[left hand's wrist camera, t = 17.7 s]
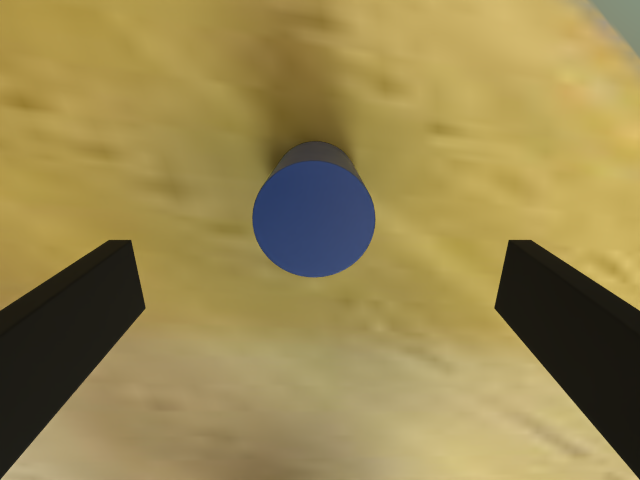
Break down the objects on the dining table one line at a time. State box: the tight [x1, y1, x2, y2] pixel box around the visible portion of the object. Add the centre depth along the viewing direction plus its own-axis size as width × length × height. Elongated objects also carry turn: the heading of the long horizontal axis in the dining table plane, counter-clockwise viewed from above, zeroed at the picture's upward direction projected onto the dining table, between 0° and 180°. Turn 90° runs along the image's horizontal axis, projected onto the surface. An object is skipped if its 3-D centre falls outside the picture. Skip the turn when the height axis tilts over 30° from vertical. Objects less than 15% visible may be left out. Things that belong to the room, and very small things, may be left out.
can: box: [252, 141, 375, 277], centre depth 22 cm, size 6×6×9 cm
